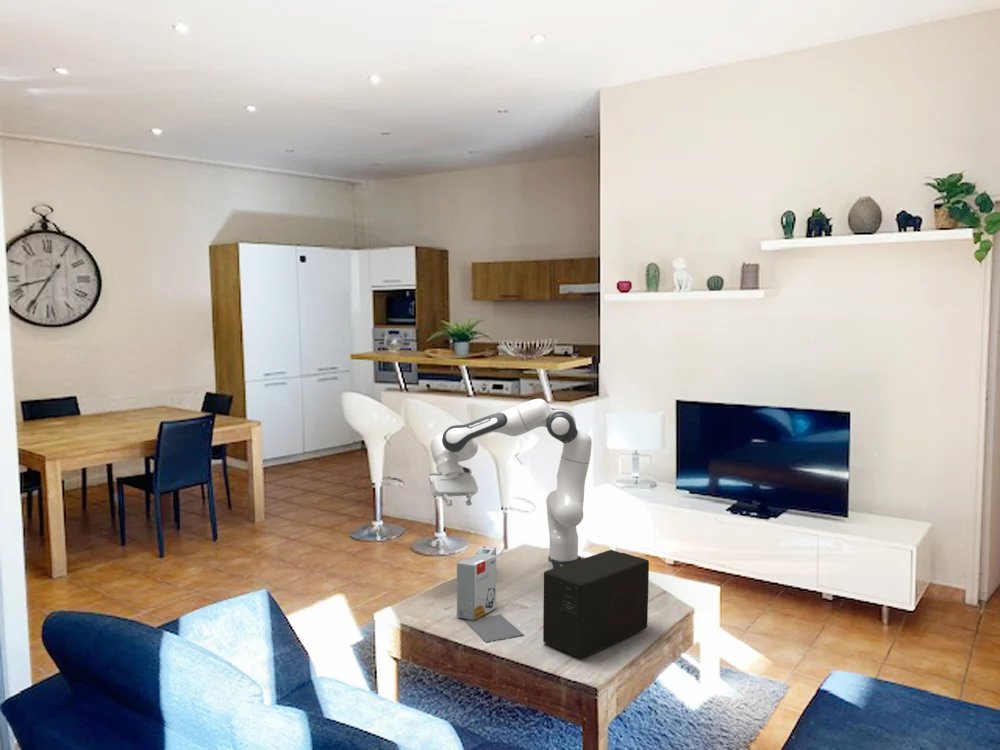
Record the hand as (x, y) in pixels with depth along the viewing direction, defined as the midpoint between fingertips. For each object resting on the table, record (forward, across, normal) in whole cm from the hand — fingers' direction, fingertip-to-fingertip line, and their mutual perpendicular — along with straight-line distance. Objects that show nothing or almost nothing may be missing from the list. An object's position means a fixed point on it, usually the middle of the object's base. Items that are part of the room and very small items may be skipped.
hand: (459, 505), depth 293 cm
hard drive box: (+39, 0, +9) cm, 40 cm away
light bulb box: (+18, +27, +30) cm, 44 cm away
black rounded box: (+62, +20, -24) cm, 69 cm away
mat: (+48, -4, -2) cm, 48 cm away
